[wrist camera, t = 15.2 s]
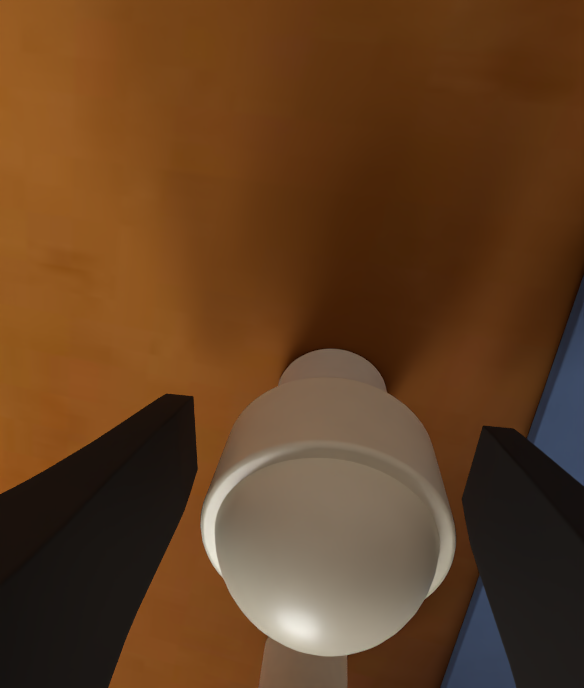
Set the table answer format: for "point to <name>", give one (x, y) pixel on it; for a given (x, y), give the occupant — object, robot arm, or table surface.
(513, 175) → the table surface
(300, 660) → the brown mushroom
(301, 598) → the cream mushroom
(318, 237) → the table surface
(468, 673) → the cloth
